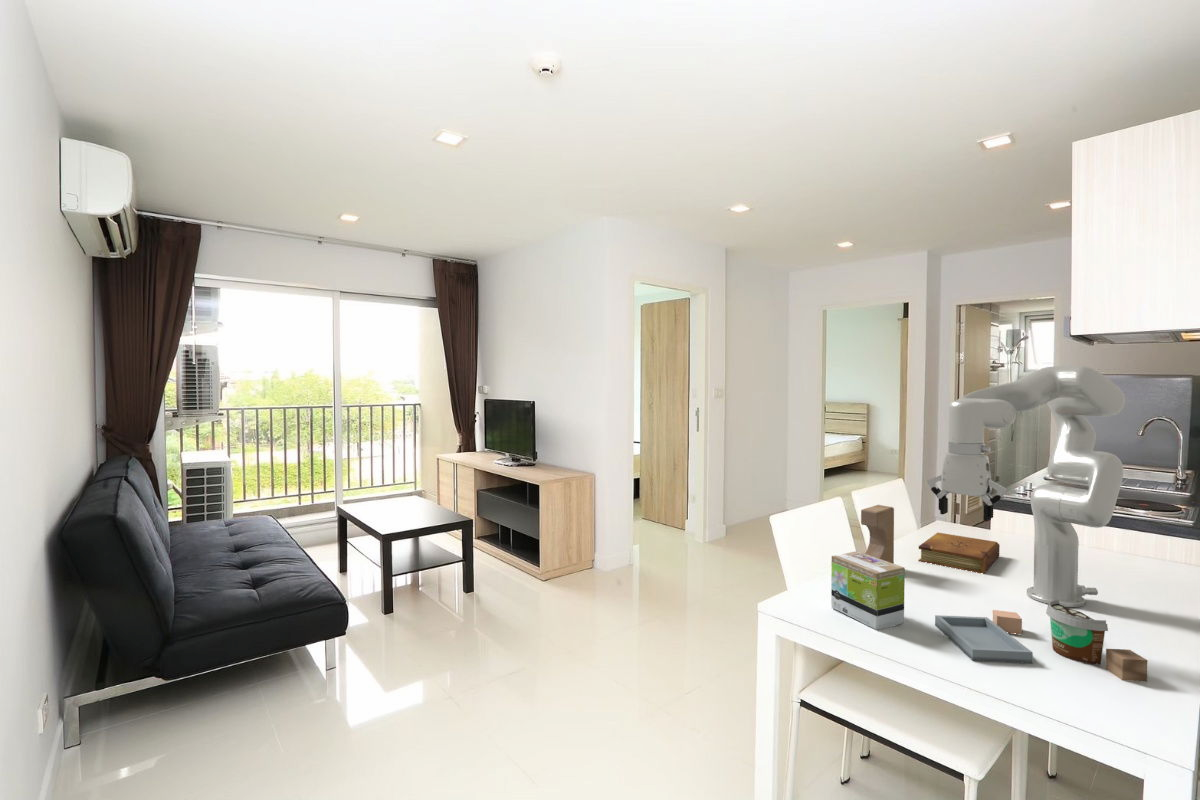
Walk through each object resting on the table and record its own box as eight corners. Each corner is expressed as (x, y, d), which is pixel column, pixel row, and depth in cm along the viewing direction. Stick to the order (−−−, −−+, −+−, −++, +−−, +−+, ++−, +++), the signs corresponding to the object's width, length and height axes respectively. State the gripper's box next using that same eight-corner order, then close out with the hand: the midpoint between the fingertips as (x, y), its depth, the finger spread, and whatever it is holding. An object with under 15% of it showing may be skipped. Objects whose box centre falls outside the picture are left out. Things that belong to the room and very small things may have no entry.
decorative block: (877, 576, 177) (877, 512, 176) (859, 571, 182) (859, 509, 181) (894, 568, 184) (895, 507, 183) (877, 564, 188) (877, 504, 187)
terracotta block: (1016, 628, 140) (1017, 612, 140) (1021, 635, 136) (1021, 619, 136) (992, 625, 142) (992, 609, 142) (996, 632, 138) (997, 616, 138)
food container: (1031, 642, 132) (1032, 600, 132) (1056, 641, 133) (1056, 598, 132) (1080, 669, 120) (1081, 622, 120) (1107, 667, 120) (1108, 621, 120)
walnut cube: (1129, 670, 119) (1129, 649, 119) (1147, 682, 115) (1147, 660, 115) (1105, 669, 120) (1106, 648, 120) (1122, 680, 116) (1122, 659, 115)
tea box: (829, 608, 153) (829, 554, 152) (857, 602, 157) (857, 549, 156) (876, 631, 139) (877, 571, 138) (905, 624, 143) (906, 565, 142)
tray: (986, 627, 140) (987, 617, 140) (1032, 663, 123) (1032, 652, 122) (935, 625, 142) (935, 615, 142) (972, 660, 124) (972, 649, 124)
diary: (984, 576, 178) (984, 558, 177) (918, 563, 191) (918, 546, 191) (999, 558, 194) (999, 541, 194) (937, 547, 207) (937, 531, 207)
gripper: (1011, 451, 139) (1010, 520, 139) (934, 445, 152) (933, 508, 153) (1001, 454, 134) (1000, 526, 135) (922, 447, 147) (922, 513, 148)
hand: (965, 516), depth 144 cm, fingers open, 9 cm apart
